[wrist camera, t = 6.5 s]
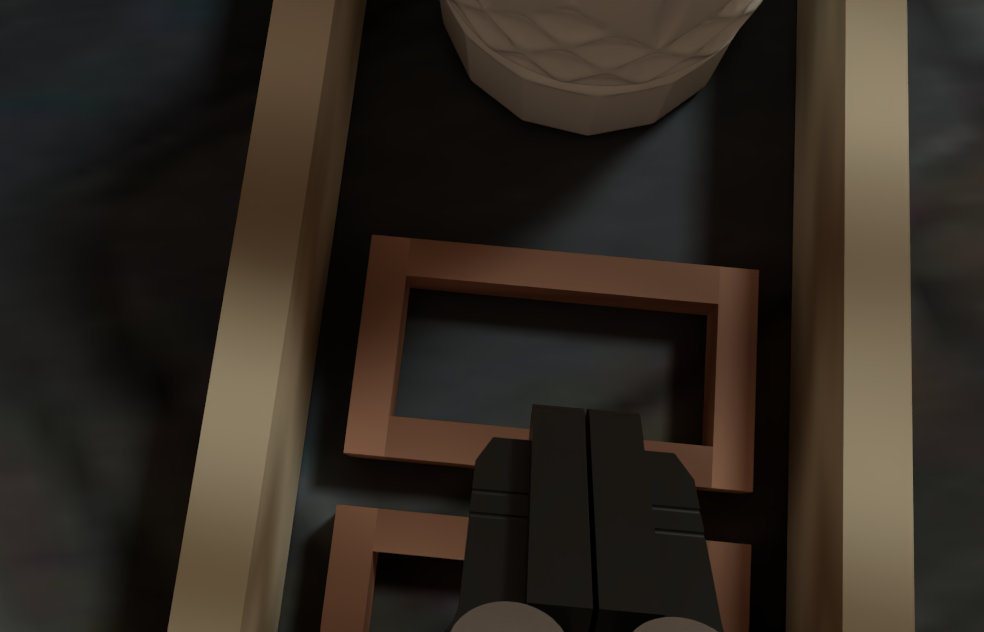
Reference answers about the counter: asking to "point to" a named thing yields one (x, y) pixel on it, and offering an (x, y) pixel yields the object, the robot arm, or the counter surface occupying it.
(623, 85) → the white cup
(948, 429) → the counter surface
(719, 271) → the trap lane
